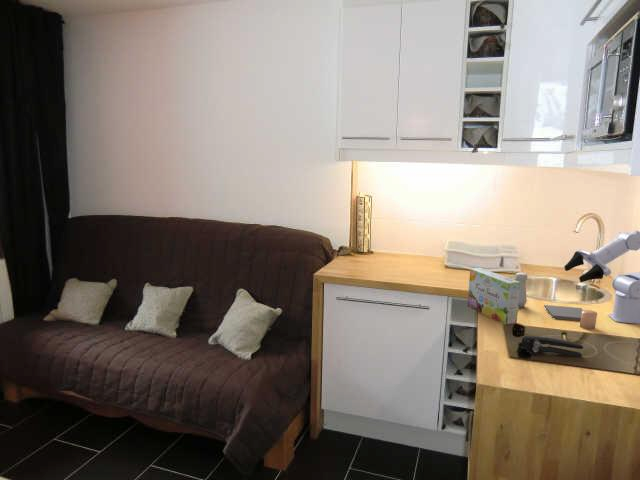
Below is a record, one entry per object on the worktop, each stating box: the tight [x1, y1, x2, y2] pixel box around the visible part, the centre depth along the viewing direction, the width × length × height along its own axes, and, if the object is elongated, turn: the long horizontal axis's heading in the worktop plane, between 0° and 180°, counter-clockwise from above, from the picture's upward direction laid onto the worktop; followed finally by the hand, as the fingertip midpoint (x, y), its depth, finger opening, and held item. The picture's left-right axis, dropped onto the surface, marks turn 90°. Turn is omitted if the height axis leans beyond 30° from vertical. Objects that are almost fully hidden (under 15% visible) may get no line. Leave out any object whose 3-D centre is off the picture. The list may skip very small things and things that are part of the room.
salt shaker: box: [515, 272, 528, 309], centre depth 190 cm, size 6×6×13 cm
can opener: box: [517, 335, 584, 358], centre depth 144 cm, size 18×7×6 cm, turn 82°
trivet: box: [543, 304, 584, 322], centre depth 182 cm, size 13×13×1 cm
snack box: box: [467, 267, 520, 326], centre depth 178 cm, size 21×6×15 cm, turn 21°
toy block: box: [579, 309, 598, 331], centre depth 168 cm, size 5×5×6 cm
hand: (572, 274), depth 174 cm, fingers open, 7 cm apart
